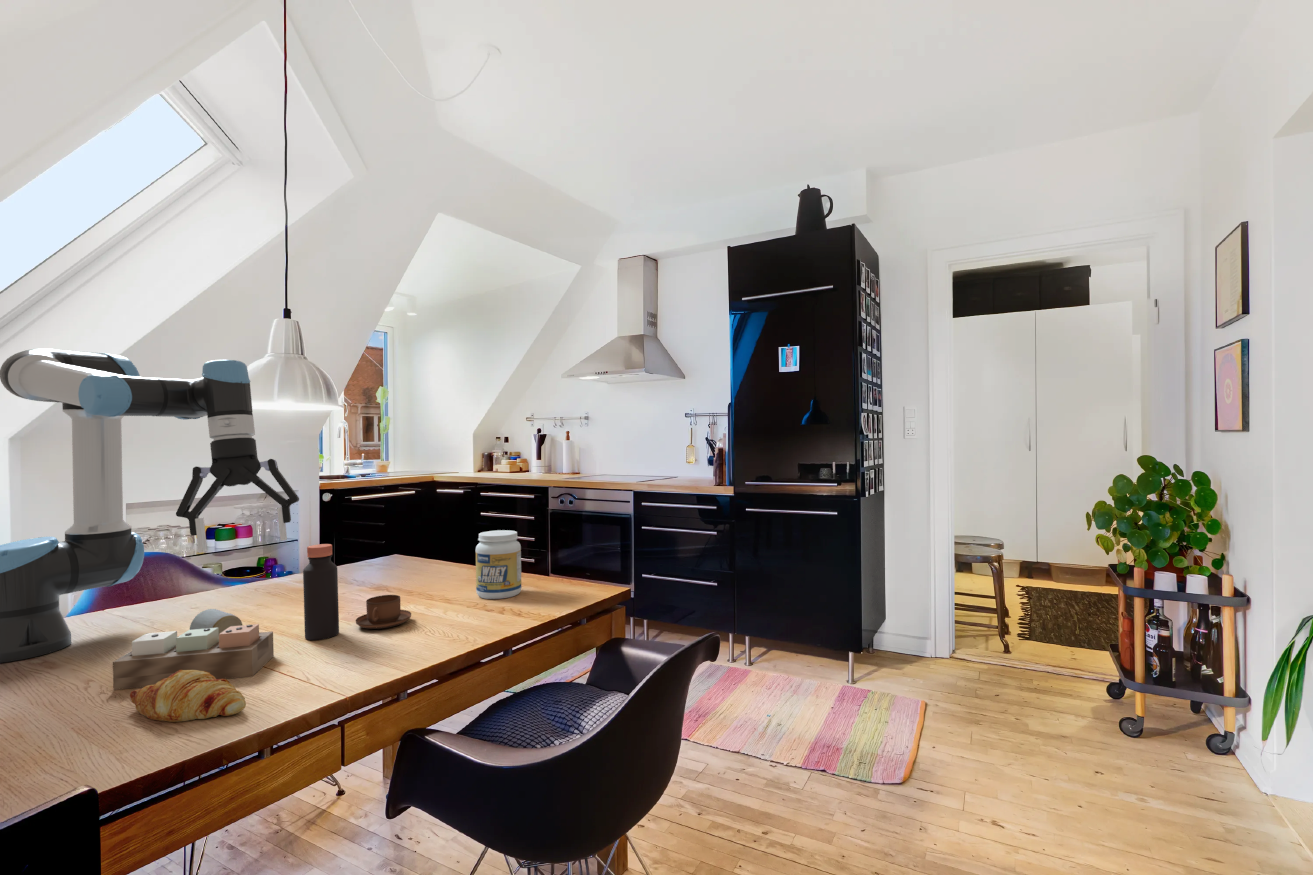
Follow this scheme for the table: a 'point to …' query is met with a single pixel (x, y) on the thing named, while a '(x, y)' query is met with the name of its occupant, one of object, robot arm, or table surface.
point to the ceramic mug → (215, 620)
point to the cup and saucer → (383, 613)
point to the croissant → (188, 697)
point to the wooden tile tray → (193, 663)
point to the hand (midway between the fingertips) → (244, 546)
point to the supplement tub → (498, 565)
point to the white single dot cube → (154, 643)
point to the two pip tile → (197, 639)
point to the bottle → (320, 594)
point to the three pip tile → (239, 636)
